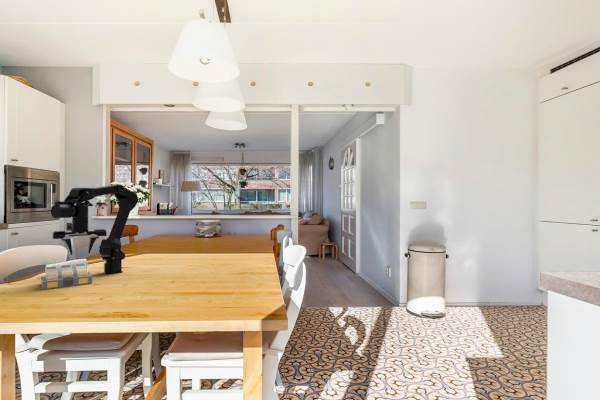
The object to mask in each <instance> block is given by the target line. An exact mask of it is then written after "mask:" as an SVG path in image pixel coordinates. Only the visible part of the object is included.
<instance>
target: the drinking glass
mask: <svg viewBox="0 0 600 400" xmlns="http://www.w3.org/2000/svg"><path fill="white" fill-rule="evenodd" d="M76 264H85V265H86V267H87V270H88V269H89V267H88V260H87V258H80V259H79V258H78V259H73V260H67V261H66V260H65V261H61V262H57V263H56V262H55V263H51V264H46V266H45V268H46V267H56V268H57V273H58V274H61V269H60V267H61V266H65V265H71V267H72V270H73V273H76V269H75V265H76Z"/></svg>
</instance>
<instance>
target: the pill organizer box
mask: <svg viewBox="0 0 600 400" xmlns="http://www.w3.org/2000/svg"><path fill="white" fill-rule="evenodd" d="M40 279H41V280H40V281H41V282H40V286H41V290H42V291H45V290H51V289H59V288H60V289H61V288H67V287H69V288H70V287H73V286H74V287H75V286H82V285H84V286H85V285H90V284H93V275H92V274H91V273H90V272H89V271H88V275H82V276H77V273H73V277H65V278H62V274H58V278H57V279H49V280H46V275H42V276H40Z"/></svg>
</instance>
